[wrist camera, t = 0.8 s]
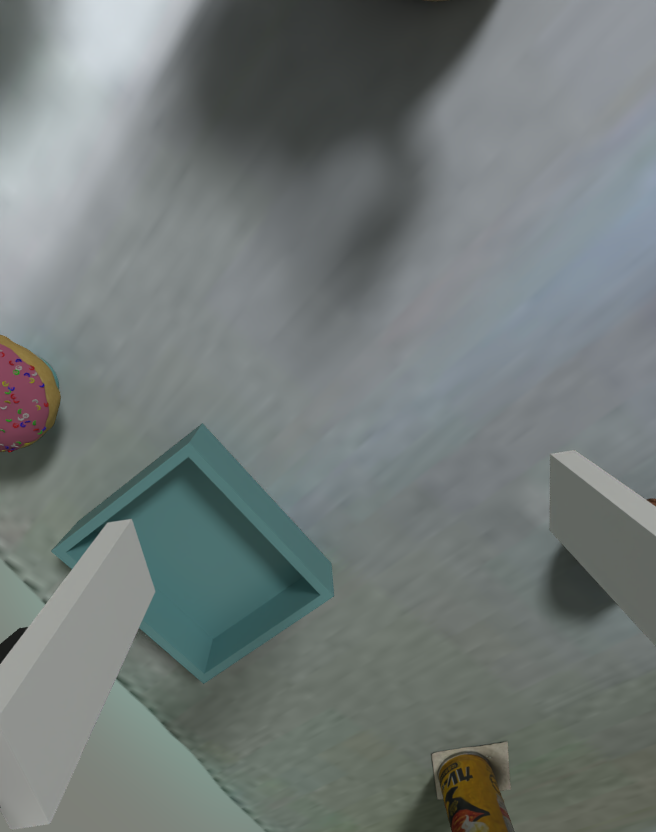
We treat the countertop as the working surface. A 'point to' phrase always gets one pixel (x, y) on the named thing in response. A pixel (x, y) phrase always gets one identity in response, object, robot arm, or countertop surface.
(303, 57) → the countertop surface
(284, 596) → the tub
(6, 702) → the robot arm
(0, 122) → the countertop surface
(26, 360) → the cupcake
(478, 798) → the condiment
